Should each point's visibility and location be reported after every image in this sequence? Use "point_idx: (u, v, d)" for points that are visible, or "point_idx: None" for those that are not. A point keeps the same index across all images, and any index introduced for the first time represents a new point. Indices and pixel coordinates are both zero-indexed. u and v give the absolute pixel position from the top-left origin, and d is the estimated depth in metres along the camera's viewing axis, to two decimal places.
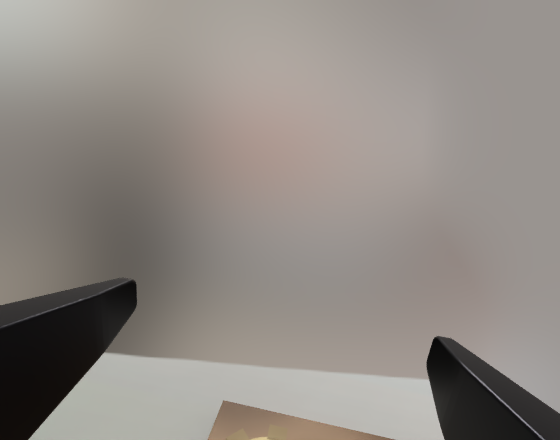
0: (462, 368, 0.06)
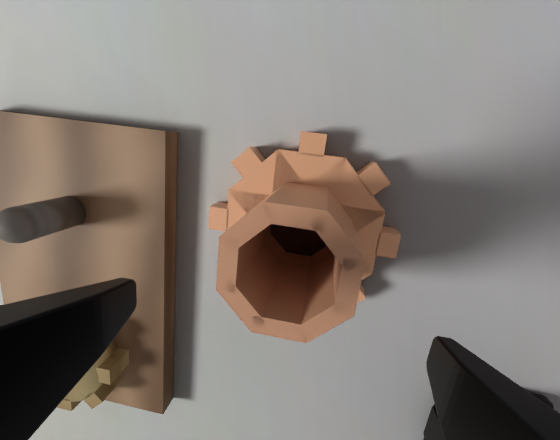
0: (462, 368, 0.06)
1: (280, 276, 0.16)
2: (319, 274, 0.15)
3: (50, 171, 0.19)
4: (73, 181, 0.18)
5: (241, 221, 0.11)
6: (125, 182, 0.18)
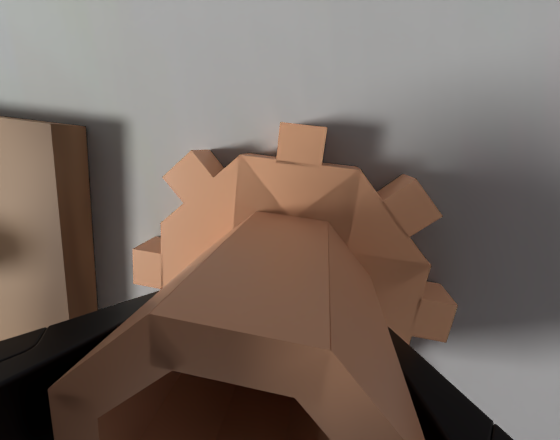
0: None
1: None
2: None
3: None
4: None
5: (96, 357, 0.04)
6: None
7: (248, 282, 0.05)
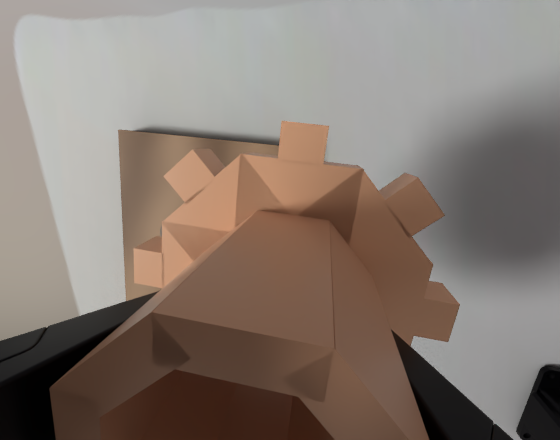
0: None
1: None
2: None
3: None
4: None
5: (98, 356, 0.04)
6: None
7: (251, 281, 0.05)
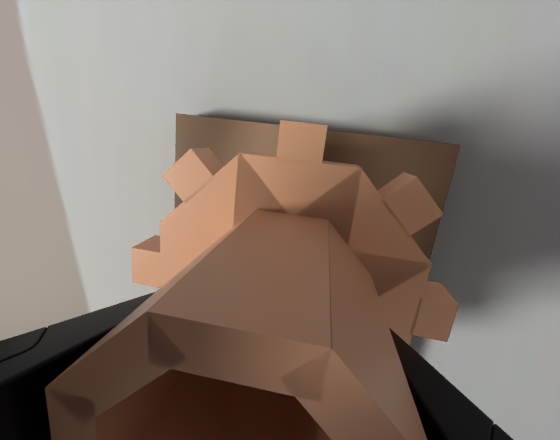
0: None
1: None
2: None
3: None
4: None
5: (93, 356, 0.04)
6: None
7: (248, 280, 0.05)
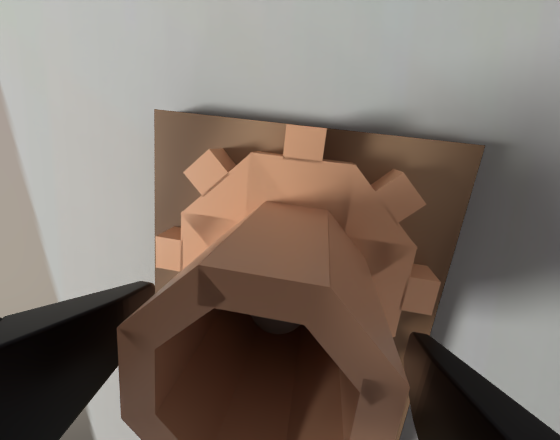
0: (432, 362, 0.06)
1: (256, 349, 0.10)
2: (316, 350, 0.10)
3: None
4: None
5: (156, 300, 0.05)
6: None
7: (266, 249, 0.06)
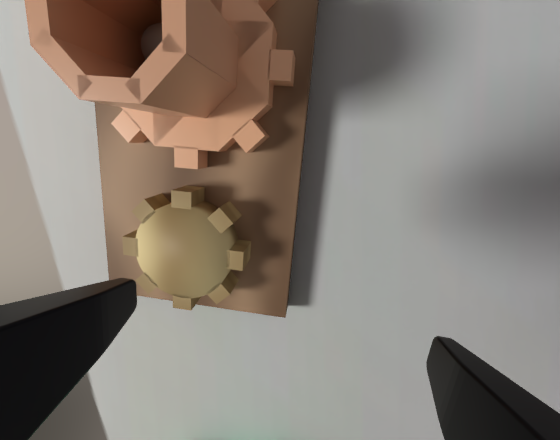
0: (462, 368, 0.06)
1: None
2: None
3: None
4: None
5: None
6: None
7: None
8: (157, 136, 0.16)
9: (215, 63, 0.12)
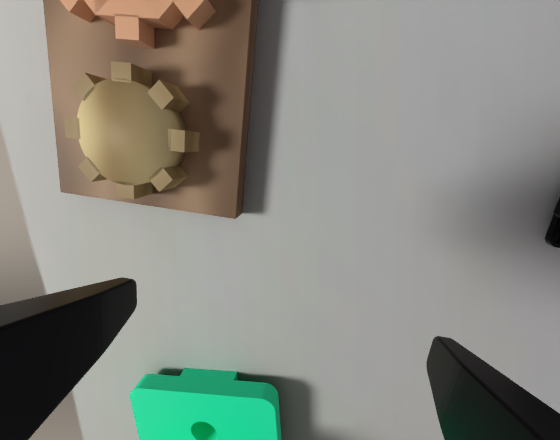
0: (462, 368, 0.06)
1: None
2: None
3: None
4: None
5: None
6: None
7: None
8: (97, 3, 0.16)
9: None
